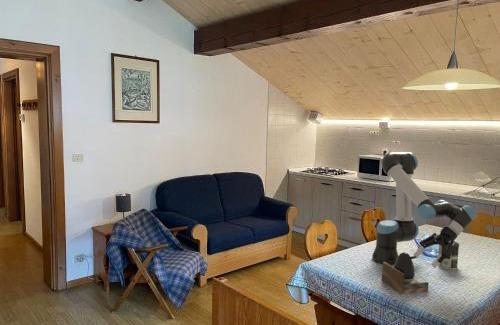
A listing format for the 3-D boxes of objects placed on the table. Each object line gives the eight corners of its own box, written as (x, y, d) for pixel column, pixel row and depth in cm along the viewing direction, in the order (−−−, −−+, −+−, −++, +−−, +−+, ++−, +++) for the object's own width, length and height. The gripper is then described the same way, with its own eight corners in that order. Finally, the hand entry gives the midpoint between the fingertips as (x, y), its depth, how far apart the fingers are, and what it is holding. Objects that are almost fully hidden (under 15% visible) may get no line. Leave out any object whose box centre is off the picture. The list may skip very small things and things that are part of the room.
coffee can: (454, 264, 223) (455, 240, 222) (459, 270, 213) (461, 246, 212) (435, 262, 225) (436, 239, 224) (440, 268, 215) (442, 244, 214)
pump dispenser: (412, 288, 184) (414, 257, 182) (390, 282, 189) (392, 253, 188) (415, 280, 193) (417, 251, 191) (394, 276, 198) (396, 247, 197)
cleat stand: (407, 278, 201) (408, 260, 200) (427, 291, 185) (429, 271, 184) (381, 280, 197) (382, 261, 196) (400, 294, 182) (401, 274, 181)
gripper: (474, 243, 183) (445, 275, 181) (438, 229, 207) (412, 257, 205) (466, 233, 181) (436, 265, 179) (430, 219, 205) (404, 248, 204)
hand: (423, 261), depth 192 cm, fingers open, 13 cm apart
